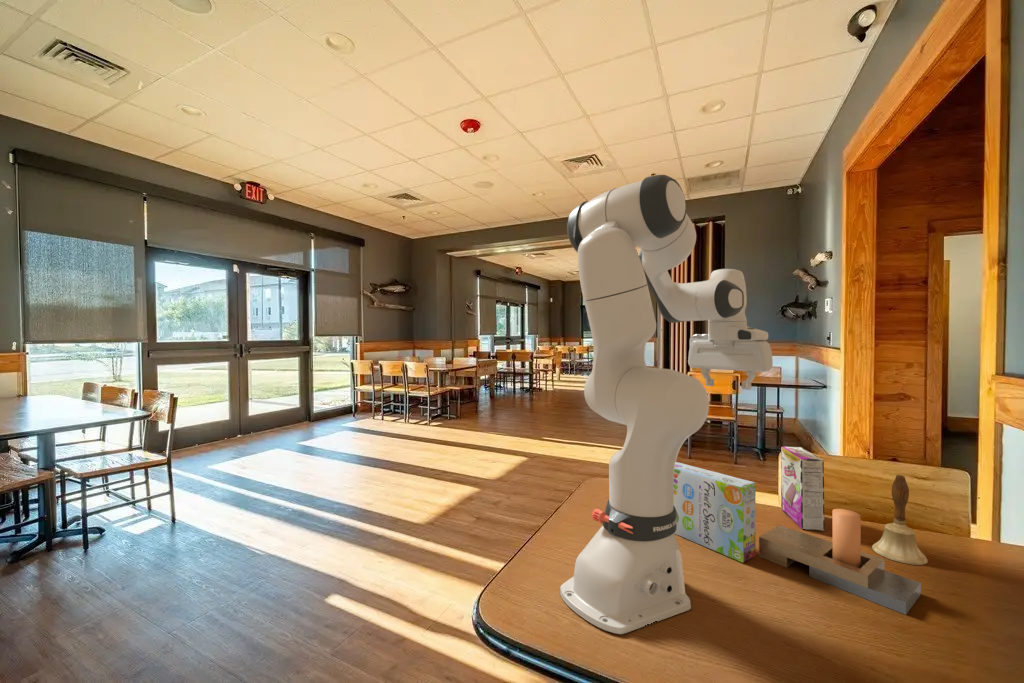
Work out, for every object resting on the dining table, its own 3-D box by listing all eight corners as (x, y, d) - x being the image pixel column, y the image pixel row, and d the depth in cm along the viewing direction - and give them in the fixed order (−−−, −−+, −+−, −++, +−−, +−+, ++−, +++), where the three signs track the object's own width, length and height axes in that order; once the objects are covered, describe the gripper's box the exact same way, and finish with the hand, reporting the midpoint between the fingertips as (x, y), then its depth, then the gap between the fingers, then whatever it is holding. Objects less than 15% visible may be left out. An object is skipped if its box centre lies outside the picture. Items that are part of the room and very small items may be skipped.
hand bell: (928, 554, 85) (928, 475, 85) (927, 570, 79) (926, 485, 79) (874, 540, 91) (874, 466, 91) (869, 554, 85) (869, 475, 85)
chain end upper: (867, 599, 71) (867, 576, 71) (759, 556, 85) (759, 536, 85) (884, 581, 76) (884, 559, 76) (779, 543, 90) (779, 525, 90)
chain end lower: (905, 614, 67) (905, 602, 67) (809, 576, 78) (809, 565, 78) (920, 594, 72) (920, 582, 72) (828, 561, 83) (828, 551, 83)
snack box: (757, 556, 85) (757, 481, 85) (743, 564, 82) (742, 487, 82) (666, 519, 103) (666, 457, 102) (651, 525, 99) (651, 461, 99)
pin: (856, 588, 74) (856, 519, 74) (829, 577, 77) (828, 512, 77) (864, 580, 76) (863, 514, 76) (837, 570, 79) (837, 507, 79)
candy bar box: (780, 510, 107) (779, 445, 107) (802, 511, 106) (802, 446, 106) (801, 530, 96) (800, 458, 96) (825, 532, 95) (825, 459, 95)
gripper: (683, 334, 115) (683, 384, 115) (763, 332, 98) (763, 392, 98) (696, 333, 118) (696, 383, 119) (775, 332, 102) (775, 390, 102)
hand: (727, 387), depth 108 cm, fingers open, 8 cm apart
